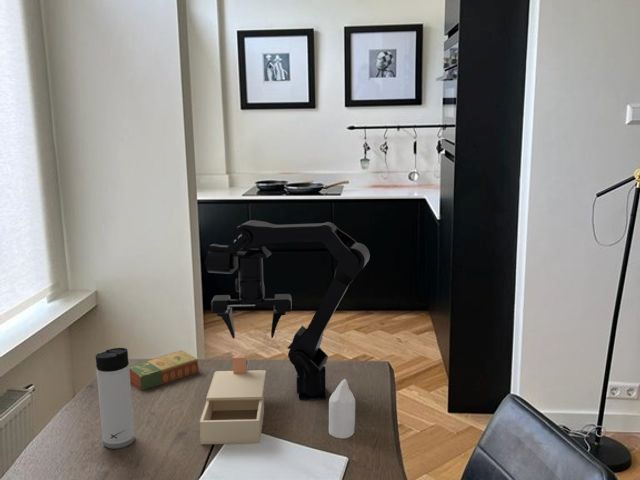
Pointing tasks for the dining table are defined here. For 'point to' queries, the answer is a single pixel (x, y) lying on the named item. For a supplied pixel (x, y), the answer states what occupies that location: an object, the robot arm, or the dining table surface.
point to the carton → (162, 369)
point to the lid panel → (237, 382)
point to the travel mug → (115, 398)
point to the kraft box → (232, 421)
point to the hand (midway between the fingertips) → (253, 337)
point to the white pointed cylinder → (342, 412)
